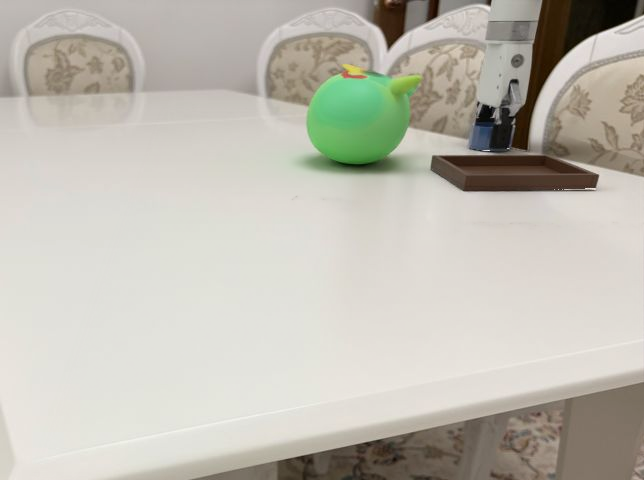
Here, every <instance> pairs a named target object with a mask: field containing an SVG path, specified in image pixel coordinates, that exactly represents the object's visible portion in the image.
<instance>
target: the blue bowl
mask: <svg viewBox="0 0 644 480" xmlns="http://www.w3.org/2000/svg"><path fill="white" fill-rule="evenodd" d="M493 124H496V121H494V122H478V123H475V122H473V123H471V125H470V131H469V137H468V143H467V148H468V147H469V148H471V149H470V150H472V149H476V150H475V151H477V150H490V151H505V150H509V149H491V148H489V143H490V138H491V133H492V127H493ZM515 131H516V125H515V124H514V125H513V129H512V134H511V139H510V144H509V147H508V148H510V149H512V145H513V139H514V134H515ZM469 148H468V149H469ZM509 151H510V150H509ZM505 152H506V151H505Z"/></svg>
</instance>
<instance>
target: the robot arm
mask: <svg viewBox="0 0 644 480" xmlns="http://www.w3.org/2000/svg"><path fill="white" fill-rule="evenodd" d="M542 4H543V0H491V3H490V9H489V14H488V19H487V20H488V21H487V27H486V32H485V37H484V44H487V45H486V49H485V52H484V55H483V60H482V64H481V68H480V74H479V79H478V84H477V91H476V93H477V94H476V100H477V103H476V108H477V109H476V112H475V121H474V123H478V122H496V124H493V127H492V133H491V138H490V143H489V148H491V149H507V148H508V147H509V144H510V139H511V134H512V129H513V125H515V123H516V118H517V116H518V114H519V111H520V109H521V108H523V106H524V105H525V104H526V101H527V95H528V90H529V83H530V77H531V70H532V62H533V45H534V44H535V38H536V33H537V28H538V24H539V19H540V13H541V9H542V6H543V5H542ZM503 111H504V112H503ZM494 115H495V117H494Z"/></svg>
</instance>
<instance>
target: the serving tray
mask: <svg viewBox="0 0 644 480" xmlns="http://www.w3.org/2000/svg"><path fill="white" fill-rule="evenodd" d="M429 168H431V169H433V170H434V171H436V172H437V173H438V174H437V173H436V172H435V173H436V174H437V175H439V174H440V175H441V176H440V175H439V176H440V177H442V176H443V177H444V178H443V177H442V178H443V179H445V180H446V179H447V180H446V181H447V182H449V181H450V182H449V183H451V184H452V183H453V184H452V185H454V186H455V187H457V188H459V189H460V190H462V191H463V192H494V191H495V192H508V191H509V192H513V191H514V192H520V191H519V190H554V189H555V190H558V189H559V190H562V189H563V190H564V189H585V188H596V189H597V186H598V182H599V178H600V174H598V173H596V172H593V171H591V170H589V169H585V168H584V167H581V166H578V165H575V164H573V163H570V162H568V161H565V160H563V159H560V158H558V157H555V156H553V155H550V154H433V155H431V161H430V166H429ZM431 169H430V170H431ZM434 171H433V172H434ZM517 190H518V191H517Z"/></svg>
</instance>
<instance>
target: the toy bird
mask: <svg viewBox="0 0 644 480" xmlns="http://www.w3.org/2000/svg"><path fill="white" fill-rule="evenodd" d="M341 66H342V67H343V68H344V70H346V72H341V73H338V74H336V75H334V76H332V77H330V78H328V79H327V80H325V81H324V82H323V83H322V84H321V85H320V86H319V88H318V89H317V90H316V91H315V93H314V94H313V96H312V98H311V100H310V103H309V105H308V109H307V113H306V122H305V123H306V133H307V135H308V138H309V140H310V143H311V144H312V145H313V147H314V148H315V149H316V150H317V151H318V152H319V153H320V154H322V155H323V156H324V157H326V158H329V159H330V160H332V161H335V162H338V163H340V164H341V163H342V164H347V165H366V164H371V163H374V162H377V161H379V160H382V159H384V158H386V157H387V156H389V155H390V154H391V153H393V152H394V151H395V150H396V149H397V148H398V146H399V145H400V144H401V142H402V141H403V139H404V138H405V136H406V133H407V131H408V129H409V125H410V121H411V103H410V100H409V99H410V97H411V96H412V95H413V94H414V93H415V92H416V90H417V89H418V88H419V86H420V84H421V82H422V81H423V77H422V76H421V75H418V74H415V75H406V76H400V77H397V78H392V77H390V76H388V75H386V74H384V73H380V72H377V71H376V70H373V69H372V70H371V69H364V68H362V67H359V66H356V65H352V64H348V63H342V64H341Z"/></svg>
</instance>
